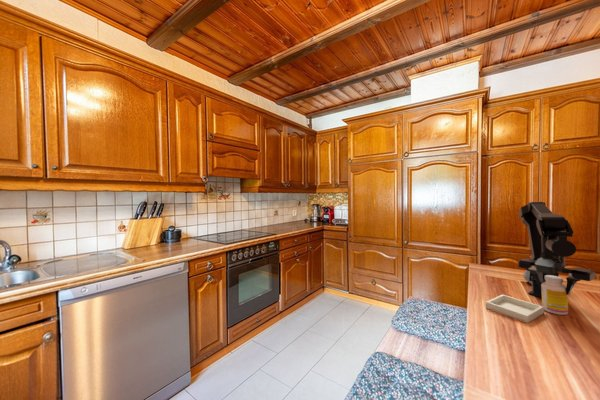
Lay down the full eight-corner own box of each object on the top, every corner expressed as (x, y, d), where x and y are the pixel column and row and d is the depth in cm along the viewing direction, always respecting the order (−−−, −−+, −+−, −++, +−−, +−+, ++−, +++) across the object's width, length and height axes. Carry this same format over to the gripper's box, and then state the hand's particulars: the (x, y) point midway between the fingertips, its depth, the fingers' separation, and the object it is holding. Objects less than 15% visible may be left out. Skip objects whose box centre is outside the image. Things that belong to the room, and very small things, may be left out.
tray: (502, 300, 97) (502, 294, 97) (544, 313, 86) (543, 306, 86) (485, 308, 92) (485, 301, 92) (527, 323, 80) (527, 316, 80)
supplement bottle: (574, 316, 83) (573, 280, 83) (552, 315, 84) (550, 280, 84) (557, 307, 89) (556, 274, 89) (537, 306, 91) (536, 274, 90)
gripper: (510, 248, 91) (511, 287, 92) (582, 259, 74) (584, 307, 75) (524, 244, 96) (525, 281, 96) (595, 253, 79) (596, 298, 80)
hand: (554, 291), depth 87 cm, fingers closed on supplement bottle, 7 cm apart
